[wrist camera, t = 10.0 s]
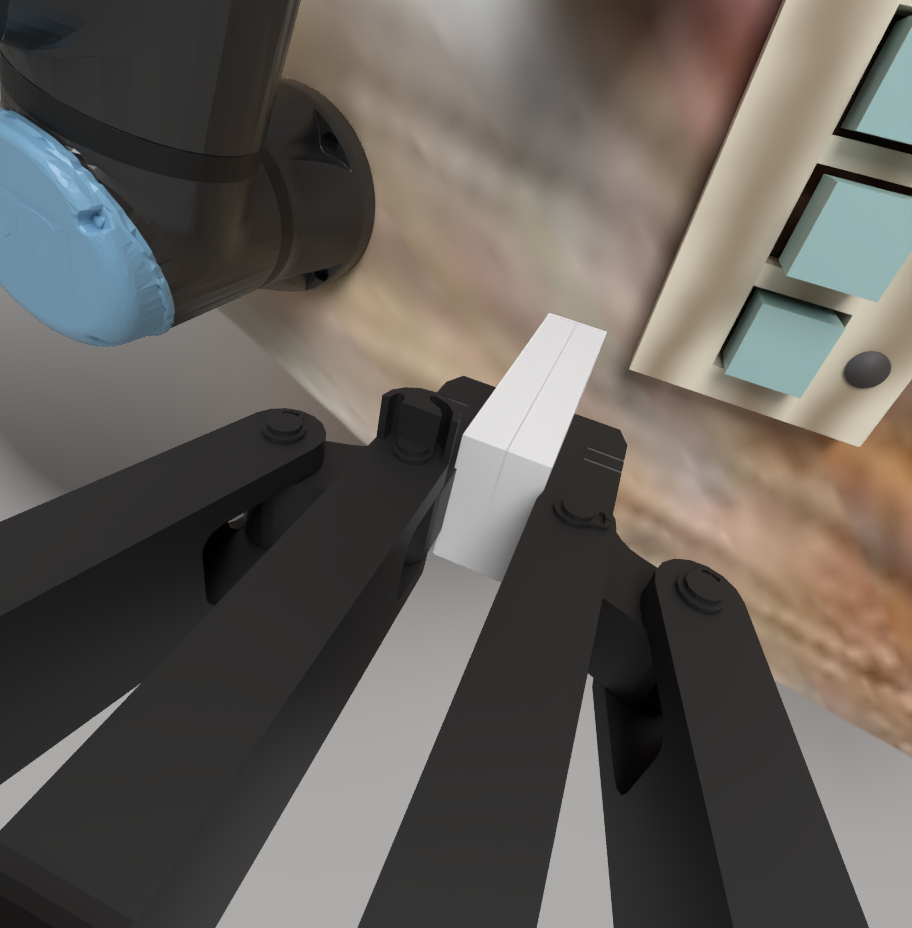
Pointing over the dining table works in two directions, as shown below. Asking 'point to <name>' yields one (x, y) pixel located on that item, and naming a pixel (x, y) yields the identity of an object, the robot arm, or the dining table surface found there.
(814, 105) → the board
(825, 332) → the button
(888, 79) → the button
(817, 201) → the button
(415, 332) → the dining table surface
